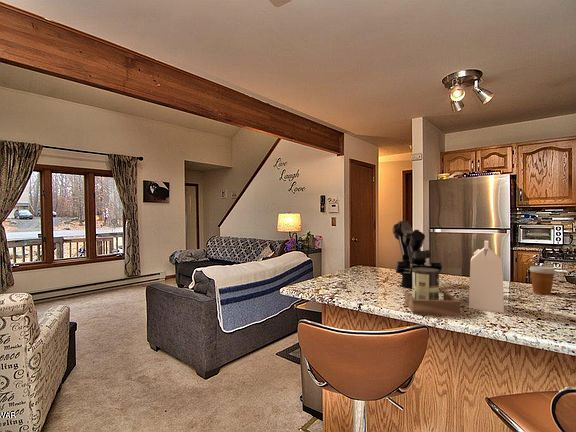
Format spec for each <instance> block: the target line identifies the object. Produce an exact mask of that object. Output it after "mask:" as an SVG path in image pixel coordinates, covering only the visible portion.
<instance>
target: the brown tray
mask: <svg viewBox="0 0 576 432" xmlns="http://www.w3.org/2000/svg"><path fill="white" fill-rule="evenodd" d="M442 294H443V295H442V296H443V297H442V298H443V299H439V300H419V299H415V298H414V297H413V296H412V293H410V292H409V291H408V290H404V304H405V305H406V307H407V308H408V309H409V310H410V312H411V313H412V314H413V315H434V316H435V315H436V316H455V317H456V316H457V317H458V316H459V317H460V316H461V301H460V300H458V299H457V298H456V297H455V296H453V295H452V294H451V293H448V292H447V291H443V293H442Z"/></svg>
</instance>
